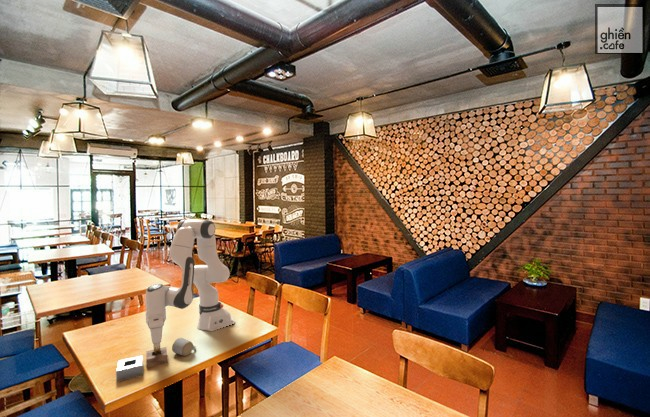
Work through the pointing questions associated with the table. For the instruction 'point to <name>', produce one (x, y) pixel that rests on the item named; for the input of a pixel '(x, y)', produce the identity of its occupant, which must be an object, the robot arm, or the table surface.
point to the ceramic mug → (182, 347)
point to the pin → (156, 349)
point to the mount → (156, 357)
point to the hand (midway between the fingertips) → (156, 344)
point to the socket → (129, 368)
